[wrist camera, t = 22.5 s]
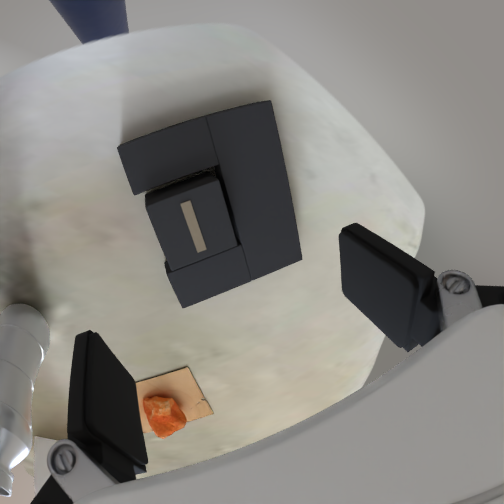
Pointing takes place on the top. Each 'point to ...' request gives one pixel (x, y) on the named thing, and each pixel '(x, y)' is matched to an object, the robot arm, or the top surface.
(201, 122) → the dark grey u-shaped block
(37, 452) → the milk
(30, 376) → the plastic bottle
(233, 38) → the top surface
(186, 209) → the dark grey square block
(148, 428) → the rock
